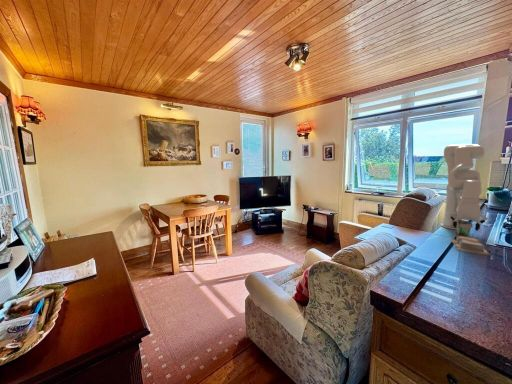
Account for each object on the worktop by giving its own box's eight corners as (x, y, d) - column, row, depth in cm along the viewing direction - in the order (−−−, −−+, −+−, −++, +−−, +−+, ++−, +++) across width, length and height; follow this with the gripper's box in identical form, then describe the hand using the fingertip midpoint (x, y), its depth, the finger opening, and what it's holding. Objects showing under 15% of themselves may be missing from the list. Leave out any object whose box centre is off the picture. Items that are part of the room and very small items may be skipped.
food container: (472, 242, 129) (474, 225, 127) (457, 240, 132) (460, 223, 131) (468, 236, 138) (471, 220, 137) (455, 234, 142) (458, 219, 140)
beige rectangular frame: (451, 240, 131) (452, 234, 131) (479, 244, 125) (480, 238, 124) (457, 250, 118) (458, 242, 118) (488, 255, 112) (490, 247, 111)
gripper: (487, 201, 130) (483, 229, 132) (449, 198, 139) (445, 225, 141) (492, 203, 124) (487, 233, 126) (451, 200, 133) (448, 228, 135)
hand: (465, 228), depth 134 cm, fingers open, 9 cm apart
